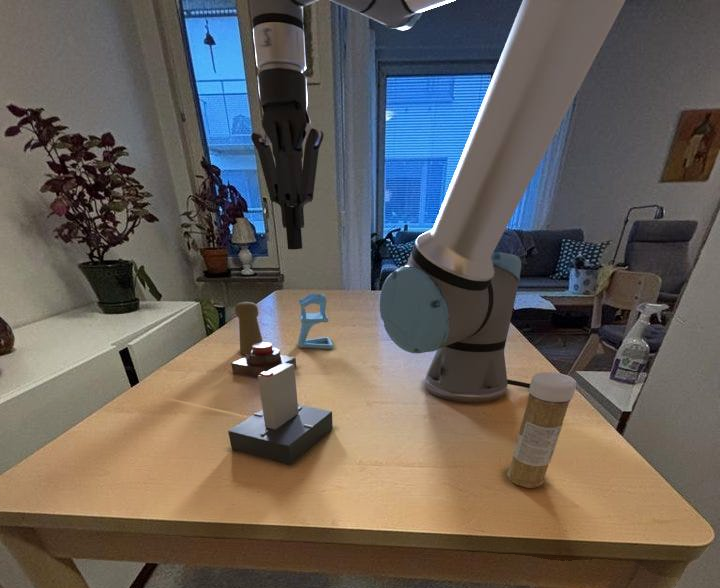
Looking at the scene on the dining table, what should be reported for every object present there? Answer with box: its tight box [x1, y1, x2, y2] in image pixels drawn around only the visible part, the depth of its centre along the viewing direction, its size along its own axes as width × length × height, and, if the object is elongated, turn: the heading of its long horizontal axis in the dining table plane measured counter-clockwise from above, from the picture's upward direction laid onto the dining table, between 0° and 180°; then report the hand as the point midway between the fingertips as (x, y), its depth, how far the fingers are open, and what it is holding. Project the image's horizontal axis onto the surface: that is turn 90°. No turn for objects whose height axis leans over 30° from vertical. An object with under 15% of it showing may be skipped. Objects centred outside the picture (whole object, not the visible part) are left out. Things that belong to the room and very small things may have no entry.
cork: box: [234, 301, 264, 356], centre depth 93 cm, size 6×6×11 cm
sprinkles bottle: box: [507, 371, 578, 489], centre depth 47 cm, size 5×5×13 cm
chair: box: [297, 293, 334, 350], centre depth 97 cm, size 8×8×12 cm
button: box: [252, 341, 273, 355], centre depth 82 cm, size 4×4×2 cm
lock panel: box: [227, 403, 334, 466], centre depth 58 cm, size 10×12×3 cm
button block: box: [230, 346, 297, 379], centre depth 83 cm, size 10×9×4 cm
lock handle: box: [257, 363, 299, 430], centre depth 55 cm, size 6×2×8 cm, turn 155°
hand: (295, 248), depth 74 cm, fingers closed
